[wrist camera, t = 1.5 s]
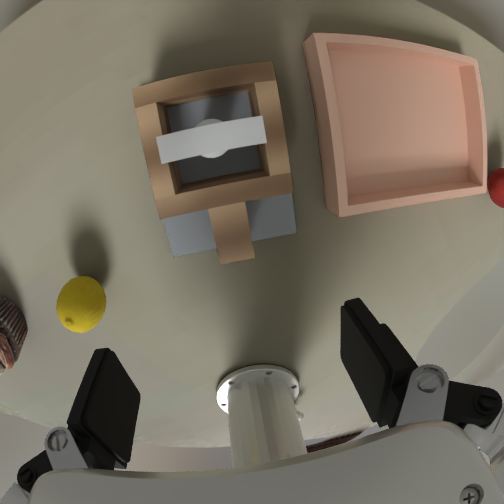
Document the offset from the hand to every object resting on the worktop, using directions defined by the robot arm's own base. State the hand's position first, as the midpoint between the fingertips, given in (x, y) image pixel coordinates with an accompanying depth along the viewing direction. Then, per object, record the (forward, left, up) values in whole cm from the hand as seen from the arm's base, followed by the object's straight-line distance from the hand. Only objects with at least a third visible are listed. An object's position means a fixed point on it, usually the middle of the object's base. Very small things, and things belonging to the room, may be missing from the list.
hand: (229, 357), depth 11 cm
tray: (-7, -23, -20) cm, 31 cm away
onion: (-24, -31, -21) cm, 45 cm away
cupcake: (+15, +34, -21) cm, 42 cm away
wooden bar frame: (+4, -4, -19) cm, 20 cm away
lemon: (+6, +17, -21) cm, 27 cm away
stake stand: (+4, -4, -20) cm, 21 cm away
